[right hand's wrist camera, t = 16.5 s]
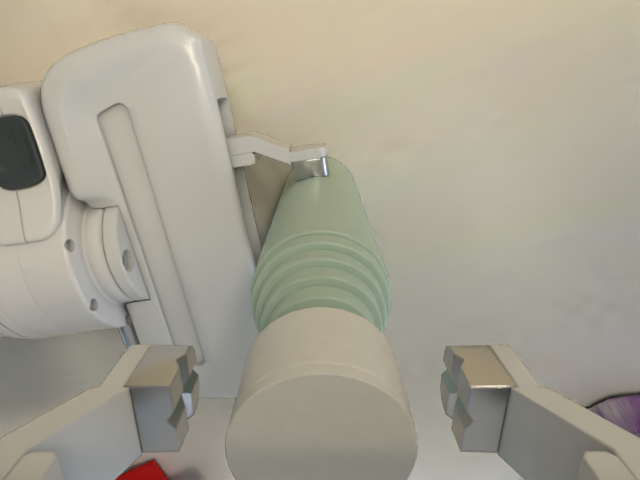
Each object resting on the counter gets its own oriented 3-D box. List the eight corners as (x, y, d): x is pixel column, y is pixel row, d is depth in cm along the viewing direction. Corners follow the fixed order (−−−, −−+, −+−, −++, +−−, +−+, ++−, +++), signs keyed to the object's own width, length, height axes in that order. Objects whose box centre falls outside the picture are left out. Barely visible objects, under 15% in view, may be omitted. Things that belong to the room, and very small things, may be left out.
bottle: (318, 140, 26) (314, 286, 7) (370, 189, 28) (485, 427, 8) (270, 193, 28) (158, 437, 9) (322, 238, 29) (326, 543, 10)
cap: (214, 366, 10) (184, 446, 8) (327, 275, 9) (330, 336, 7) (315, 452, 11) (314, 545, 9) (426, 376, 10) (456, 459, 8)
